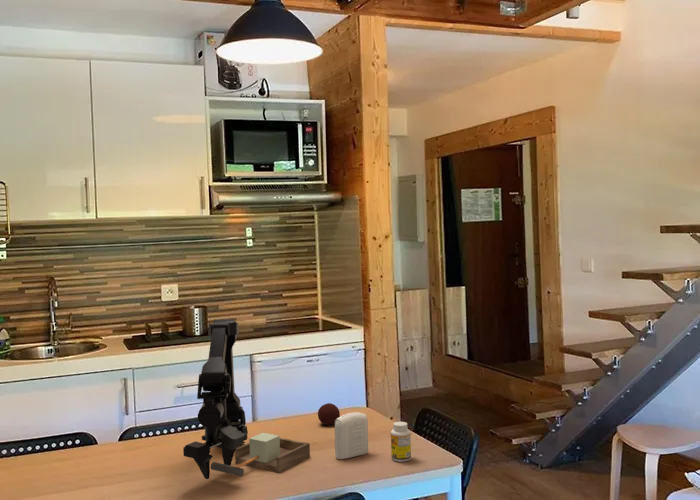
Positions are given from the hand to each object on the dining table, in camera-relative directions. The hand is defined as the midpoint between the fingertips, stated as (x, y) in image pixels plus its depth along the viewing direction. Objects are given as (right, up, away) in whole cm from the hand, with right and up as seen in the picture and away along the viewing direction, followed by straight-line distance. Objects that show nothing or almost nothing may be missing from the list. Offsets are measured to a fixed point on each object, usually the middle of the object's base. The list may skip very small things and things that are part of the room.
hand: (217, 474), depth 181 cm
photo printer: (+36, 0, +16) cm, 39 cm away
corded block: (+8, 0, +5) cm, 9 cm away
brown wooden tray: (+13, -1, +14) cm, 19 cm away
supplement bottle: (+50, 0, +12) cm, 51 cm away
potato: (+28, +1, +47) cm, 55 cm away
